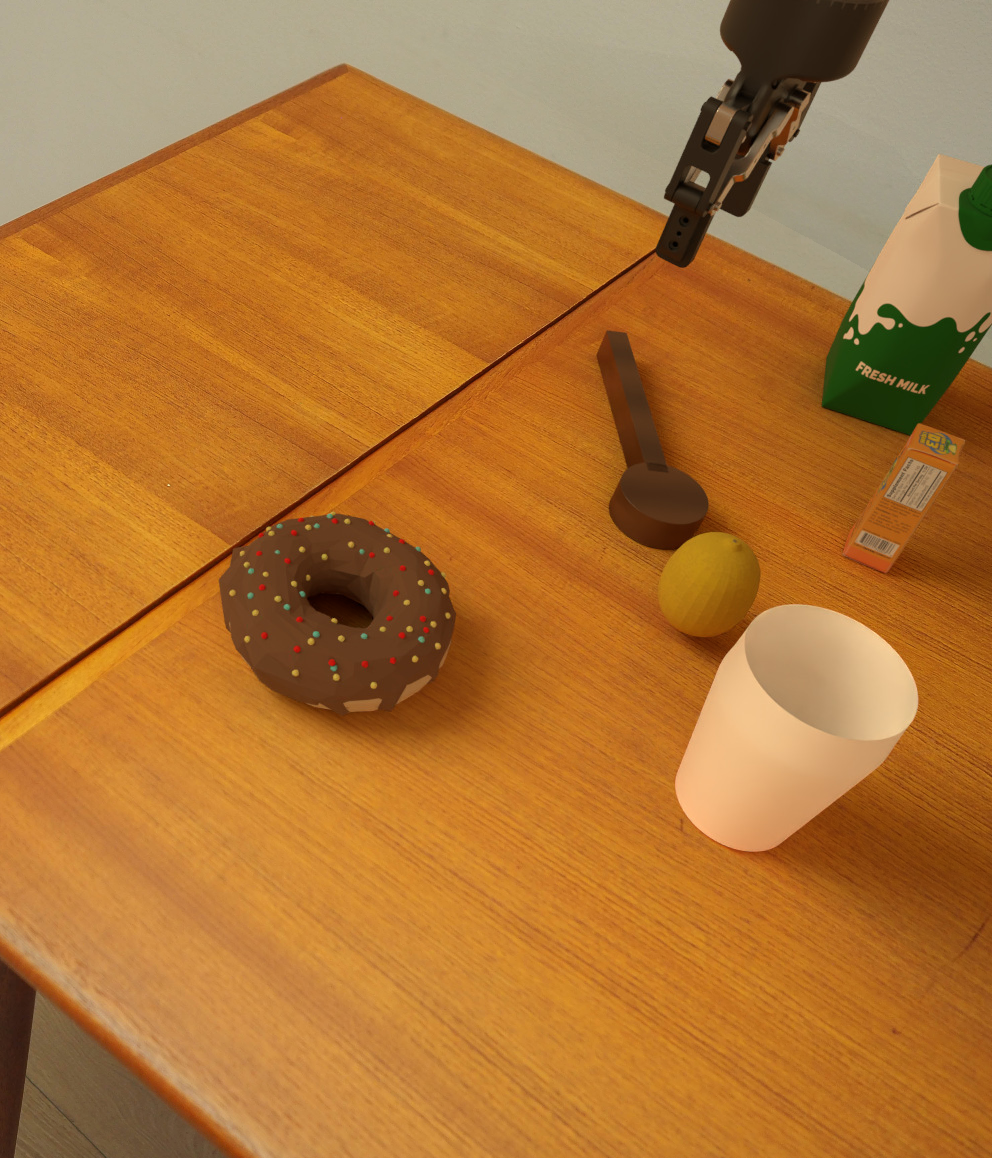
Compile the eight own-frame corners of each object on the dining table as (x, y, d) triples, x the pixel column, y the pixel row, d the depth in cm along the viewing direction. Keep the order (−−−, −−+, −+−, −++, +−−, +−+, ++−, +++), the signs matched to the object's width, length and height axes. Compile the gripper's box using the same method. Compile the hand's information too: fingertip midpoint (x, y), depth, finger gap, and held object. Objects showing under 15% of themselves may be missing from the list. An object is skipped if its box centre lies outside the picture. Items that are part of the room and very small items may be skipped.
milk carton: (808, 410, 101) (946, 176, 86) (815, 347, 107) (945, 118, 92) (924, 447, 99) (1084, 216, 85) (924, 381, 105) (1074, 155, 91)
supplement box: (846, 527, 92) (919, 417, 84) (894, 549, 91) (973, 440, 83) (835, 554, 90) (910, 444, 82) (885, 577, 89) (965, 468, 81)
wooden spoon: (568, 351, 102) (578, 326, 100) (643, 360, 102) (654, 335, 101) (617, 544, 87) (629, 518, 86) (703, 553, 88) (718, 528, 86)
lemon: (639, 648, 81) (688, 560, 75) (640, 586, 85) (688, 497, 79) (727, 672, 81) (784, 585, 75) (725, 608, 85) (779, 521, 79)
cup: (622, 792, 74) (707, 658, 65) (704, 711, 78) (793, 575, 70) (762, 903, 70) (873, 776, 61) (839, 810, 75) (951, 680, 66)
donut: (327, 524, 85) (342, 467, 82) (487, 655, 79) (511, 600, 76) (161, 622, 78) (170, 564, 74) (324, 775, 72) (341, 721, 68)
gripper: (843, 30, 63) (709, 308, 75) (934, -41, 71) (800, 219, 83) (702, -27, 66) (594, 250, 77) (806, -89, 74) (694, 170, 86)
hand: (701, 234), depth 80 cm, fingers open, 8 cm apart
